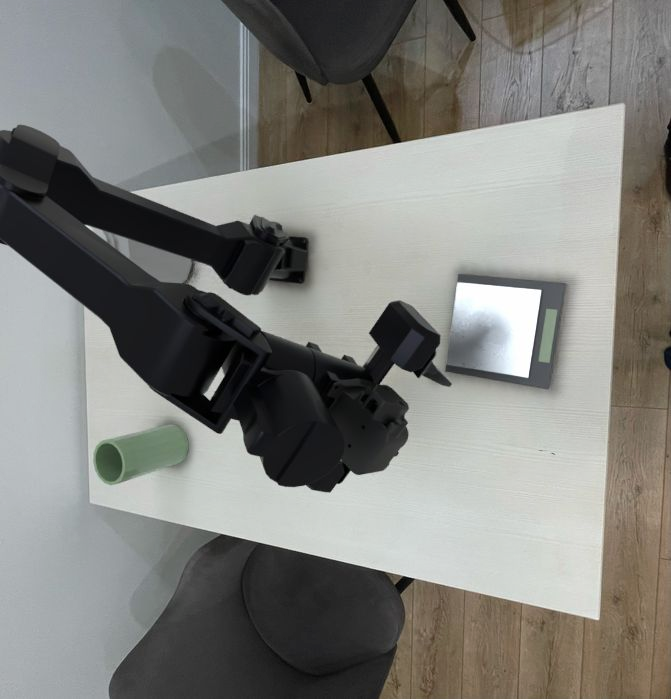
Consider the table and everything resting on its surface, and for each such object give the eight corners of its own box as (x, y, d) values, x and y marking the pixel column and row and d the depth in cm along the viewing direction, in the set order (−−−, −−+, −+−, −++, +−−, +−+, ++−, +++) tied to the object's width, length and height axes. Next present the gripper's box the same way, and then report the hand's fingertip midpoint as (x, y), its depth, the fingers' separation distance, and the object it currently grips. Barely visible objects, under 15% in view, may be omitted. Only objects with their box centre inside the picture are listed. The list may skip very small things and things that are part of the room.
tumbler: (157, 458, 92) (92, 478, 80) (160, 420, 91) (94, 435, 80) (186, 467, 89) (123, 490, 77) (189, 428, 88) (126, 445, 77)
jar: (153, 229, 89) (53, 210, 73) (198, 233, 85) (102, 214, 69) (148, 288, 91) (49, 282, 75) (193, 295, 86) (97, 290, 70)
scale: (449, 370, 68) (443, 372, 65) (461, 274, 66) (456, 273, 64) (550, 387, 62) (547, 390, 60) (566, 283, 61) (564, 282, 59)
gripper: (266, 530, 42) (406, 546, 51) (400, 341, 36) (532, 396, 45) (235, 436, 51) (360, 463, 59) (340, 270, 45) (461, 327, 53)
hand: (422, 418), depth 54 cm, fingers open, 9 cm apart
